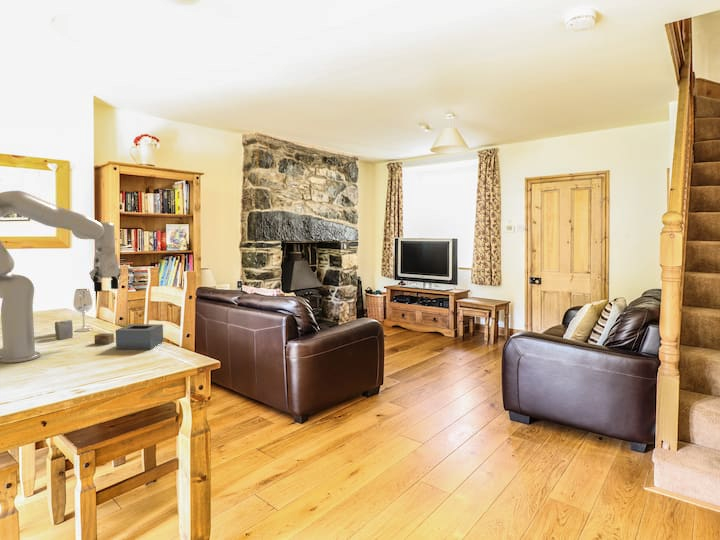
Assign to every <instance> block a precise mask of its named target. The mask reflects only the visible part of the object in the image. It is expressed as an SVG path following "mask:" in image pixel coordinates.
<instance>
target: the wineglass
mask: <svg viewBox="0 0 720 540" xmlns="http://www.w3.org/2000/svg"><path fill="white" fill-rule="evenodd" d="M72 305H73V308H74V310H75V311H77V312H78V313H81V314H82V327H81V328H78V329H75V330H74V331H75V332H77V333H78V332H79V333H82V332H84V333H85V332H90V331H93V330H94V328H92V327H87V326H86V324H85V323H86V322H85V315H86V313H87V312H89V311H90V310H91V309H92V307H93V298H92V294H91V292H90V289H89V288H77V289H75V292H74V295H73V304H72Z"/></svg>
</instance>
